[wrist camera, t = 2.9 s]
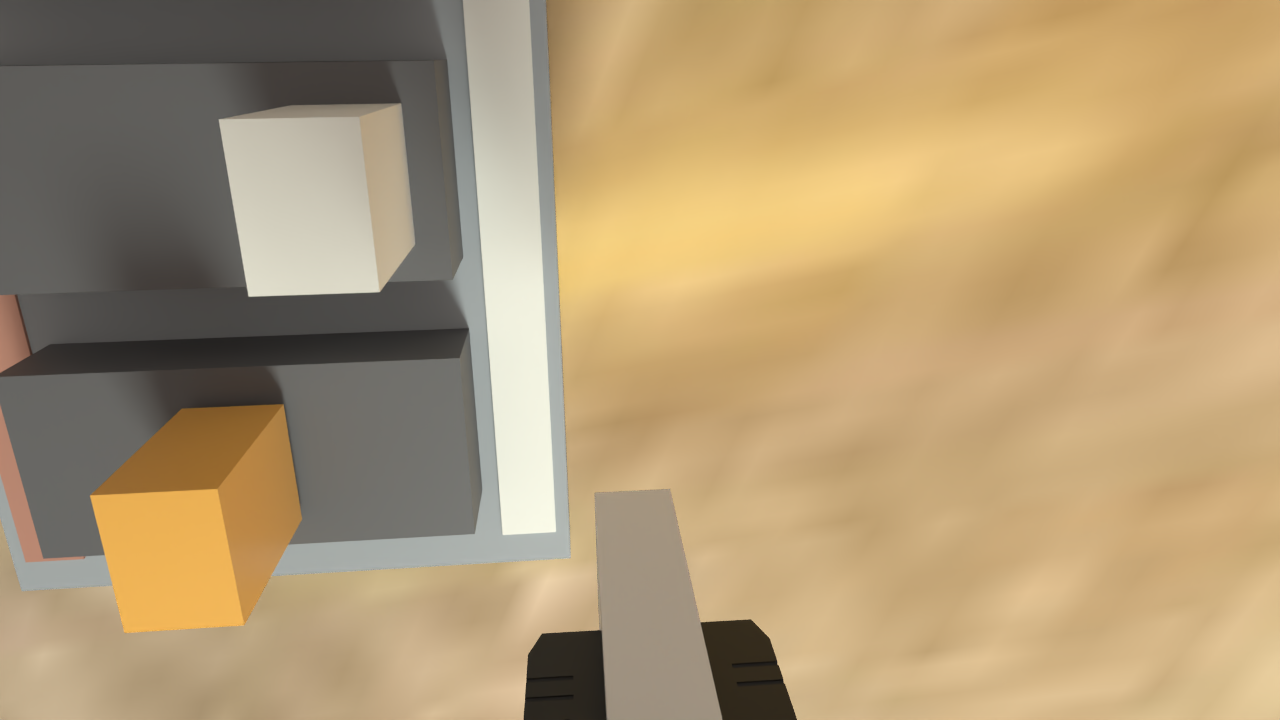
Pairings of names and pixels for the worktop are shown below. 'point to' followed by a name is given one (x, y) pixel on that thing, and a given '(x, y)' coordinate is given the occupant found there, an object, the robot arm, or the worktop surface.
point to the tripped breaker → (199, 518)
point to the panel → (284, 267)
